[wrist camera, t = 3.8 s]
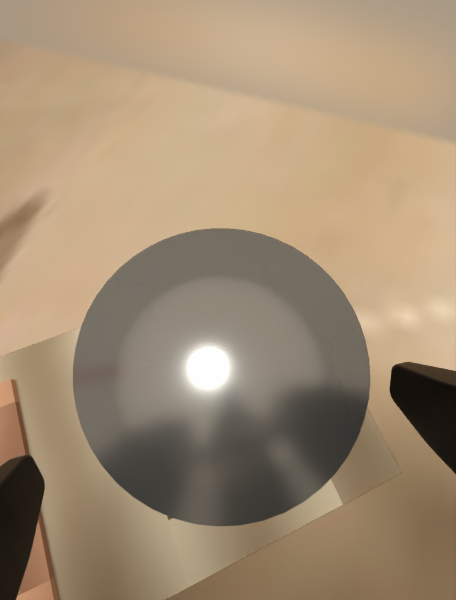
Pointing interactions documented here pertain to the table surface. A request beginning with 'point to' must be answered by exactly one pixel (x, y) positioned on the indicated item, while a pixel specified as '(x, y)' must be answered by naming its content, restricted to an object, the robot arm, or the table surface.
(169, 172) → the table surface
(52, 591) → the socket board
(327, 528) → the table surface
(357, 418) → the silver metal cylinder
